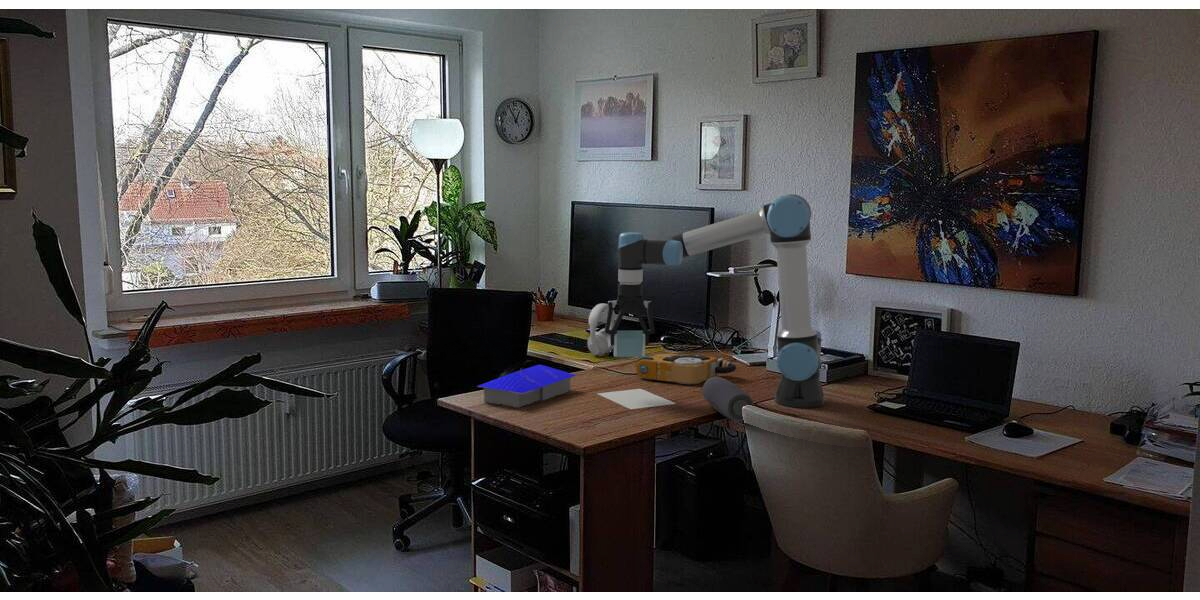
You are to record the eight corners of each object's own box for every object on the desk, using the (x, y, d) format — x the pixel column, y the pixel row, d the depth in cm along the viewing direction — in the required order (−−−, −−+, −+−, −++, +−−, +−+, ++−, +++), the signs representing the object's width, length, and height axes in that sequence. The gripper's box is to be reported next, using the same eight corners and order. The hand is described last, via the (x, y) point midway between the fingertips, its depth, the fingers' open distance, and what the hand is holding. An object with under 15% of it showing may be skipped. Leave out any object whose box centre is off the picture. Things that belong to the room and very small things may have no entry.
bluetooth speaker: (756, 425, 277) (757, 391, 276) (725, 427, 275) (726, 392, 274) (729, 406, 299) (730, 374, 298) (700, 407, 297) (700, 375, 296)
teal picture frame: (640, 348, 309) (642, 330, 301) (641, 356, 307) (643, 338, 299) (615, 348, 308) (616, 330, 300) (615, 356, 307) (617, 338, 299)
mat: (676, 405, 299) (676, 403, 299) (630, 411, 292) (630, 409, 291) (640, 390, 318) (640, 388, 318) (596, 395, 311) (596, 393, 311)
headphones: (602, 350, 386) (602, 300, 384) (620, 351, 383) (620, 301, 380) (582, 358, 370) (582, 306, 367) (601, 360, 367) (601, 307, 364)
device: (663, 346, 352) (740, 354, 337) (662, 368, 354) (739, 378, 338) (632, 356, 333) (713, 366, 318) (632, 380, 334) (712, 390, 319)
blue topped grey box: (523, 410, 292) (522, 380, 291) (477, 403, 301) (476, 373, 299) (576, 391, 317) (576, 363, 316) (533, 384, 326) (533, 357, 325)
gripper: (662, 281, 304) (661, 353, 307) (595, 281, 303) (595, 353, 306) (665, 284, 297) (664, 358, 300) (596, 284, 296) (596, 358, 299)
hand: (629, 355), depth 303 cm, fingers closed on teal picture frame, 8 cm apart
